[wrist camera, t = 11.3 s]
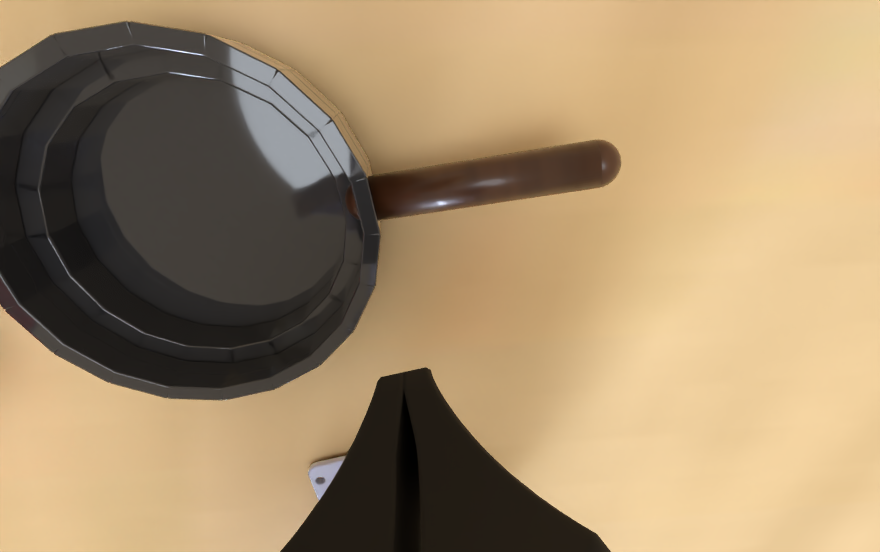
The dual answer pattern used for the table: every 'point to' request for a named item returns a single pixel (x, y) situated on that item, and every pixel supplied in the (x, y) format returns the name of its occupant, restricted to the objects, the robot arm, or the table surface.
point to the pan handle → (492, 179)
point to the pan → (179, 211)
